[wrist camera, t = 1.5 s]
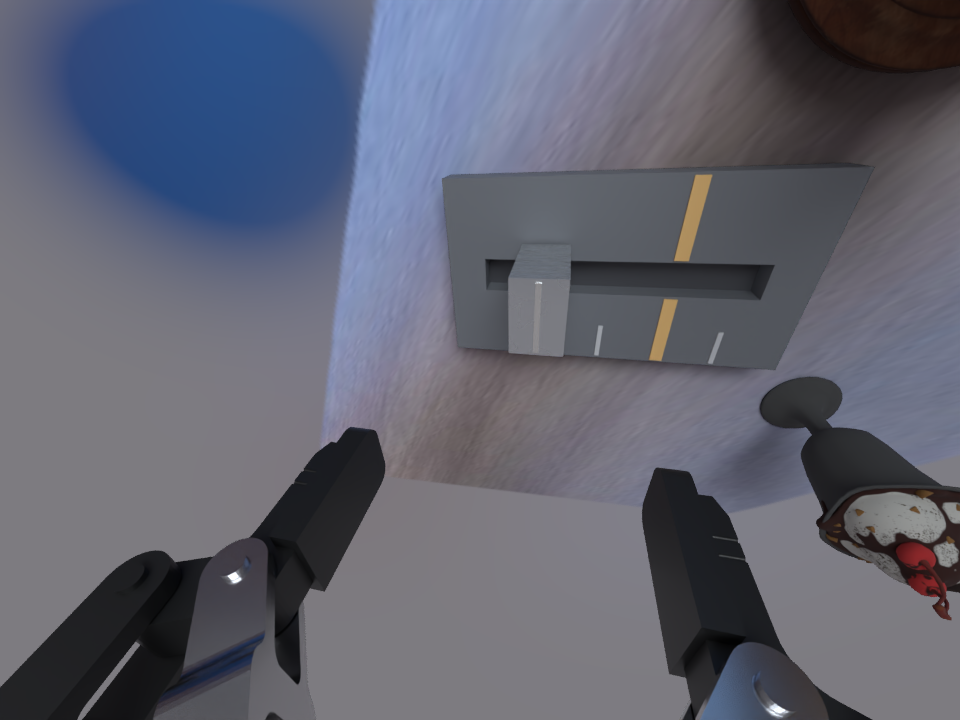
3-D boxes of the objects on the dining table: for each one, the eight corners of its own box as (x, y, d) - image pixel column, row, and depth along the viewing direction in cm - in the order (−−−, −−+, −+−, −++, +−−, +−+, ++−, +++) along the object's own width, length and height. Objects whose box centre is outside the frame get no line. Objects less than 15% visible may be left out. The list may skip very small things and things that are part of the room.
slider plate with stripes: (848, 162, 19) (876, 167, 17) (762, 354, 25) (775, 370, 24) (451, 174, 23) (441, 178, 22) (464, 334, 30) (457, 347, 28)
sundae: (754, 368, 26) (913, 583, 14) (870, 364, 24) (1171, 609, 12) (739, 434, 30) (855, 654, 17) (839, 435, 28) (1049, 682, 15)
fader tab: (571, 238, 23) (570, 280, 17) (565, 301, 26) (563, 357, 19) (524, 238, 24) (508, 278, 18) (523, 299, 26) (508, 353, 20)
